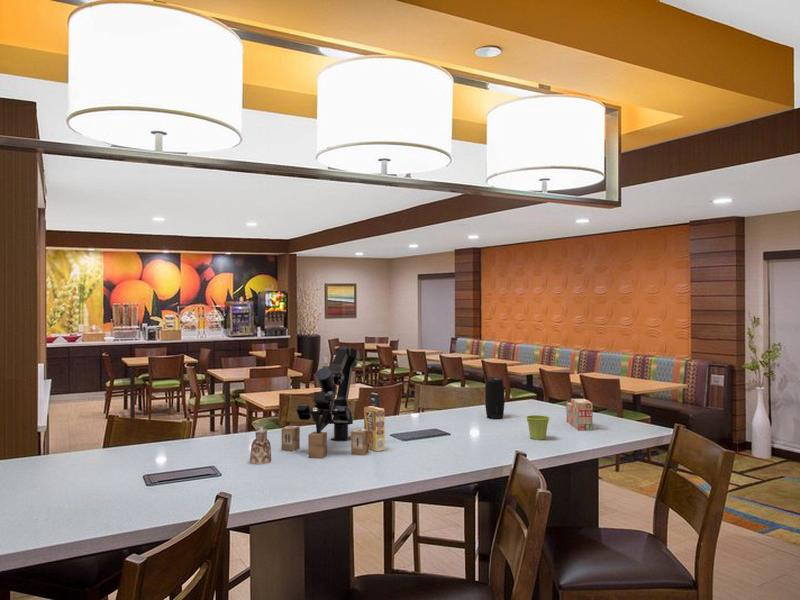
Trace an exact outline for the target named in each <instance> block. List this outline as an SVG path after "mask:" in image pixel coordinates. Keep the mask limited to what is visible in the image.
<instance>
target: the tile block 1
mask: <svg viewBox="0 0 800 600" xmlns="http://www.w3.org/2000/svg"><path fill="white" fill-rule="evenodd" d="M300 427H301V426H297V425H287V426H285V427H282V428H281V451H285V452H286V451H287V452H295V451H297V450H299V449H300V445H301V444H300V441H301V440H300V439H301V438H300V435H301V434H300V431H301V430H300Z"/></svg>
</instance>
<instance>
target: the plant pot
mask: <svg viewBox="0 0 800 600" xmlns="http://www.w3.org/2000/svg"><path fill="white" fill-rule="evenodd" d="M525 418H526V421H527V423H528V431H529V438H530V439H532V440H535V441H536V440H537V441H540V440H546V438H547V431H548V424H549V421H550V419H551V418H550V417H549V416H548V415H541V414H533V415H531V414H530V415H526V416H525Z"/></svg>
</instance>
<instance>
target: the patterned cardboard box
mask: <svg viewBox="0 0 800 600" xmlns="http://www.w3.org/2000/svg"><path fill="white" fill-rule="evenodd" d="M565 408H566V409H565V413H566V423H568V424H569V425H571V426H572V427H573V428H574V429H575V430H577V431H579V432H580V431H581V432H584V431H585V432H587V431H591V432H592V431H593V416H594V415H593V413H594V411H593V410H594V409H593V402H591V401H590V400H588V399H585V398H570V401H569V402H565Z"/></svg>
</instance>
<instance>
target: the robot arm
mask: <svg viewBox="0 0 800 600" xmlns="http://www.w3.org/2000/svg"><path fill="white" fill-rule="evenodd" d="M360 356H361V355H360V351H359V350H358V349H357V348H352V347H350V346H349V345H347V346H346V345H345V346H343V345H342V346H341V345H340V346H337V348H336V354H335V356H334V358H333V360H332V362H331V364H330V365H322V368H319V369H318V370H317V371H316V372H315V378H316V381H317V384H318V388H319V389H320V391H315V392H313V397H312V402H314V404H313V405H314V407H312V409H311V408H310V406H309V405H308V404H299V405H297V407H296V410H295V411H296V414H297V415H298V419H299V420H301V421H302V420H303V421H309V420H310V419H311V417H312V420H313V422H315V427H316V431H315V432H317V433H320V432H323V429H325V428H326V427H327V426H329V425H333V437H331V438H330V440H332V441H348V440H350V439H351V435H349V426H350V425H353V424H354V418H353V417H354V416H353V412H352V410H351V407H350V404H349V402H348V400H349V395H350V394H349V393H350V387H351V381H352V376H353V370H354V369H355V368H356V367H357V366H358V363H359V361H360V358H361V357H360Z"/></svg>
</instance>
